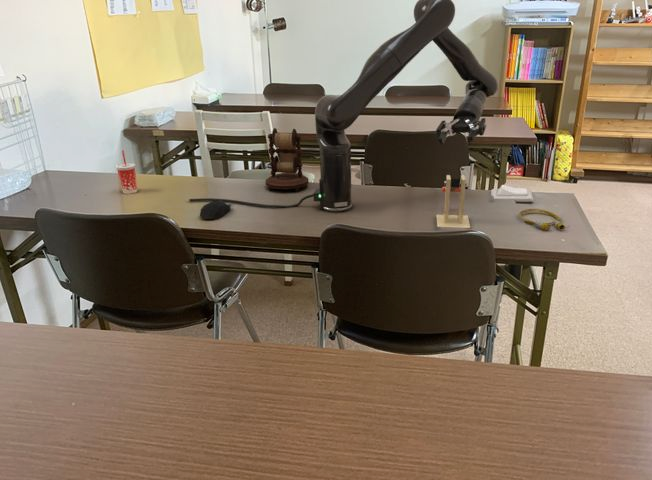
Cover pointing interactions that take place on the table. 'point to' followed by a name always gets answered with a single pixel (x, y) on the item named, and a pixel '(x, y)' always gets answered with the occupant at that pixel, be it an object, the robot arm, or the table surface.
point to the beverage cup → (127, 176)
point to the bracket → (459, 219)
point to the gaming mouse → (214, 210)
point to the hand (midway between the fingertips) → (455, 141)
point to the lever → (453, 186)
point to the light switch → (512, 194)
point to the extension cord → (541, 224)
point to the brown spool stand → (285, 161)
